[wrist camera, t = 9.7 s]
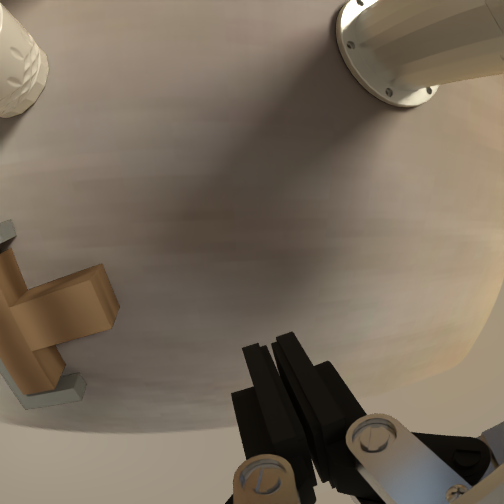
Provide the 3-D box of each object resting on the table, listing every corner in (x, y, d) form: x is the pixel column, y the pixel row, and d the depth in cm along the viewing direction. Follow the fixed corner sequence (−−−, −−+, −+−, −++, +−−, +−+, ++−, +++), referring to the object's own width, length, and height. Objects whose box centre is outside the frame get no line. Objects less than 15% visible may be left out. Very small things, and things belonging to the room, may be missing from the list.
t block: (85, 217, 23) (70, 226, 19) (137, 345, 27) (133, 370, 23) (-18, 261, 21) (-40, 274, 17) (36, 371, 25) (23, 395, 21)
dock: (11, 219, 21) (-3, 224, 19) (86, 384, 26) (81, 400, 24) (-42, 246, 20) (-56, 253, 18) (32, 395, 25) (25, 409, 23)
